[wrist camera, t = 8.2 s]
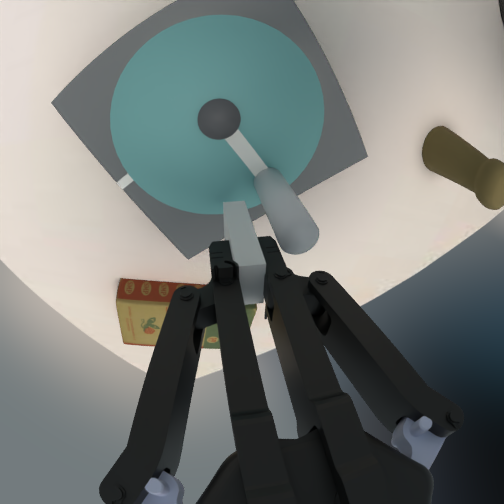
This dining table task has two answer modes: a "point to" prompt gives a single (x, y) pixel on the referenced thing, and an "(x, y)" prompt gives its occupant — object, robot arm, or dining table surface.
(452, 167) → the cork
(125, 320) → the carton
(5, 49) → the dining table surface
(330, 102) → the base plate
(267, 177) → the dial
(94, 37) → the dining table surface
